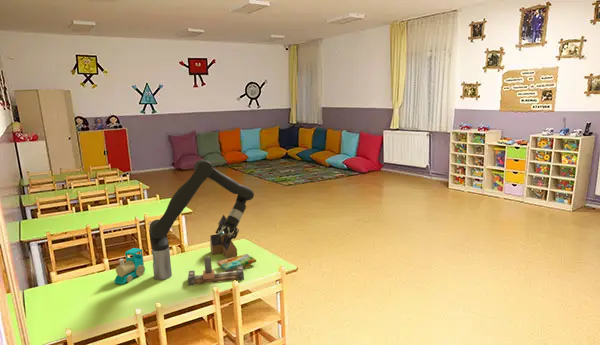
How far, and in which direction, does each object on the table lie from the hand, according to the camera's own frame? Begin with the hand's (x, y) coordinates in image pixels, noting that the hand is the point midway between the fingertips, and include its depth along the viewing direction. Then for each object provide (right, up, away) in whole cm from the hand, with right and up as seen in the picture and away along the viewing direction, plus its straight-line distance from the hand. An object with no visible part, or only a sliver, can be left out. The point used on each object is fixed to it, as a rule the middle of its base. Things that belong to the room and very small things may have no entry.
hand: (221, 242), depth 234 cm
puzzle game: (+7, -17, +11) cm, 21 cm away
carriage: (-6, -18, -6) cm, 20 cm away
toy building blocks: (-4, -13, +28) cm, 31 cm away
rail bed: (-2, -19, -5) cm, 20 cm away
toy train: (-52, -20, -1) cm, 56 cm away
